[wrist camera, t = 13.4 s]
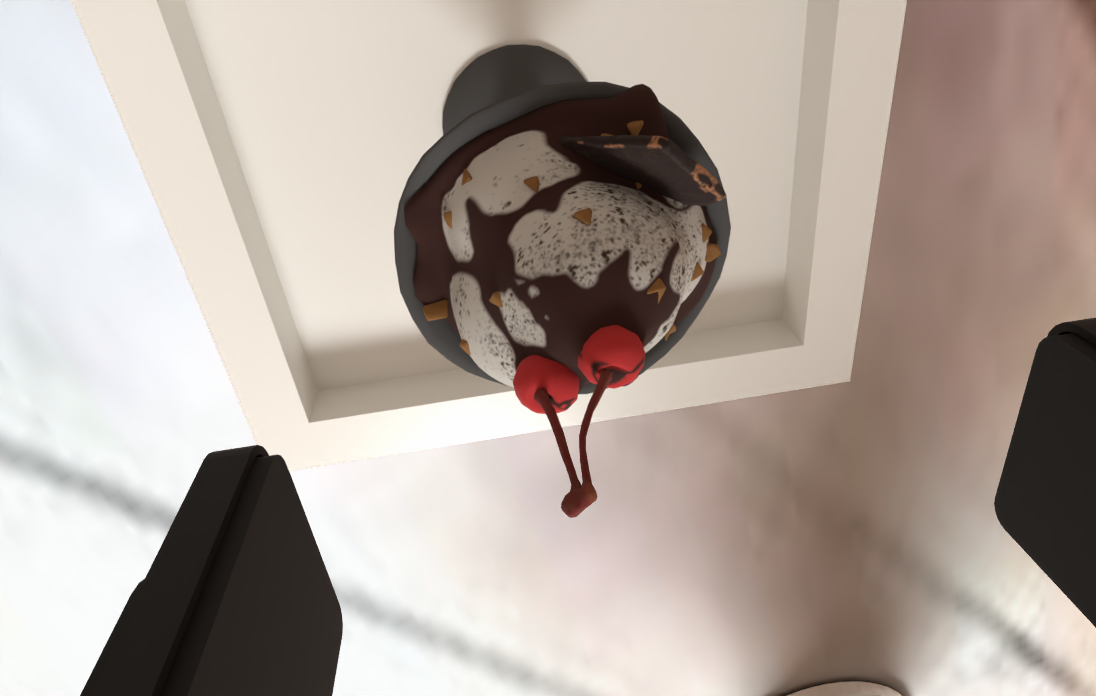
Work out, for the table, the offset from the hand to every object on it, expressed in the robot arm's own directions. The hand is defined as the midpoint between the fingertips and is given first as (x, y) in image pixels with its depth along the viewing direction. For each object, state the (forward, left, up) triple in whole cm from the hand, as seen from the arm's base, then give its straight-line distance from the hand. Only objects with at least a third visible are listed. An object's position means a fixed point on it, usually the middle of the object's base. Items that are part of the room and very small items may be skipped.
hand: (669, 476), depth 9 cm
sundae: (0, 0, -17) cm, 16 cm away
